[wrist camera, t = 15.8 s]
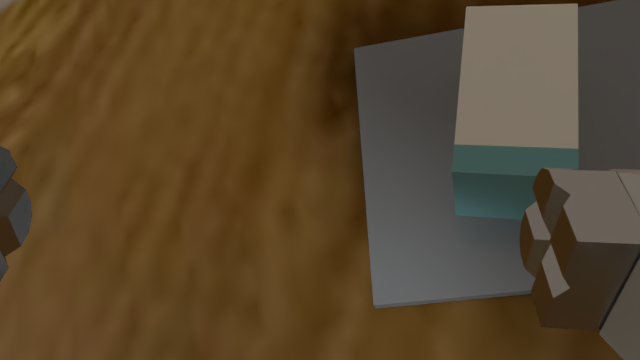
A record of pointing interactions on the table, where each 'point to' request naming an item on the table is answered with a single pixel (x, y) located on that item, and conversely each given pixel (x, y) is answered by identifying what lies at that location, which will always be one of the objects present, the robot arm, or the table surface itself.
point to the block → (514, 105)
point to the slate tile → (437, 157)
